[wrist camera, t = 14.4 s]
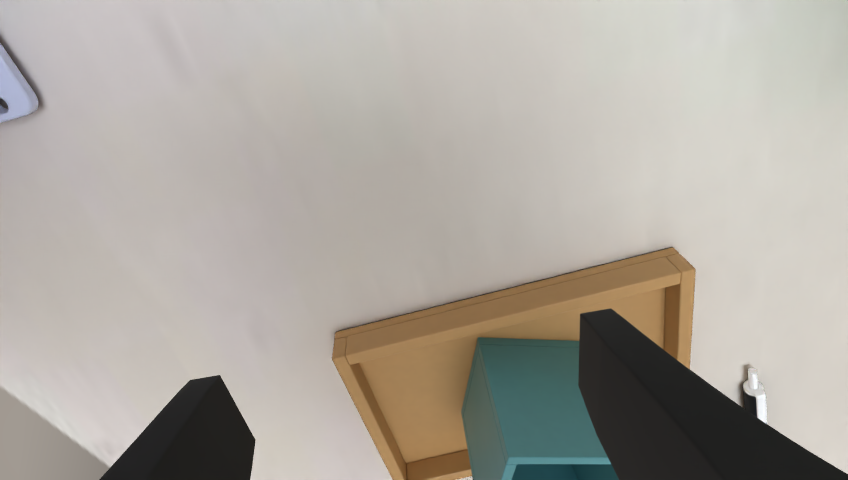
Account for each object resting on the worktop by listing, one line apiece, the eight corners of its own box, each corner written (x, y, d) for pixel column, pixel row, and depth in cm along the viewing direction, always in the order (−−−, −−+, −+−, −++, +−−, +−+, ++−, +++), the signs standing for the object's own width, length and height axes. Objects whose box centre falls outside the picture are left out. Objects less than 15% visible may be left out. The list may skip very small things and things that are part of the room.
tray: (398, 463, 26) (398, 492, 24) (334, 331, 21) (331, 359, 19) (668, 401, 25) (686, 428, 23) (673, 246, 20) (696, 268, 18)
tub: (460, 411, 23) (482, 537, 18) (477, 336, 21) (508, 457, 16) (555, 412, 24) (602, 535, 19) (582, 340, 21) (645, 457, 16)
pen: (755, 361, 24) (771, 378, 23) (764, 534, 33) (775, 551, 32) (737, 367, 24) (752, 384, 23) (751, 537, 33) (762, 554, 32)
